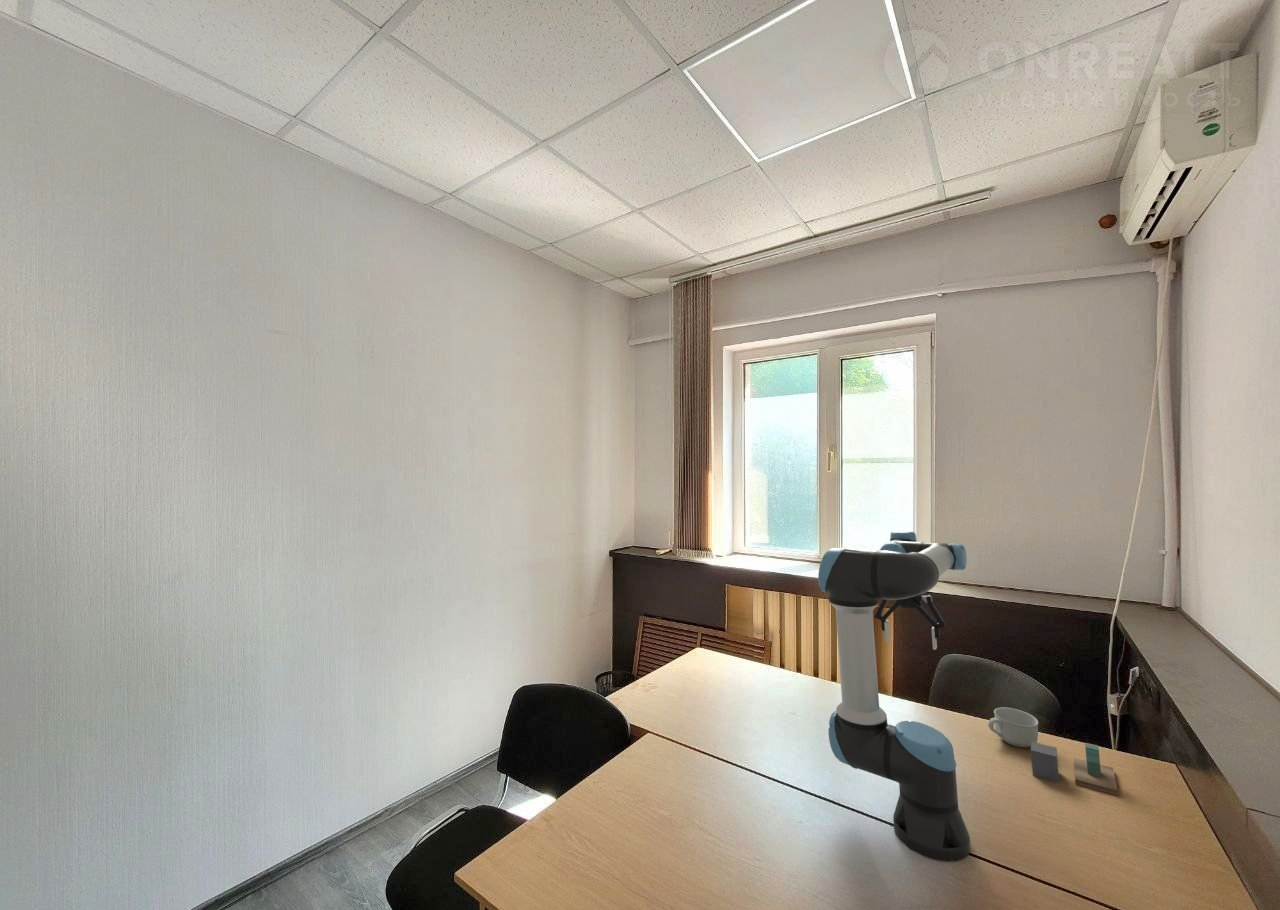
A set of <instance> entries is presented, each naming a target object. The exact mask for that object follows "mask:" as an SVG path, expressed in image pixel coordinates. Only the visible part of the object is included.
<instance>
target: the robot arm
mask: <svg viewBox="0 0 1280 910" xmlns="http://www.w3.org/2000/svg"><path fill="white" fill-rule="evenodd" d="M917 540H918V539H917V534H916V532H914V531H911V530H893V531H891V532H890V539H889V541H887V542H886V543H884V544H883V545H882V546H881V547H880V549H879V550H876V549H865V548H864V549H863V548H851V547H838V548H837V547H834V548H830V549H828V550H827V551H826V552H825V553H824V554H823V556H822V558H821V560H820V563H819V567H818V568H819V569H818V574H817V575H818V576H817V577H818V578H817V579H818V586H819V589H820V590H821V592H823V593H824V594H828V602H829V604H830V605H831V606H832V607H833V608H834V609H835V617H836V618H835V619H836V629H837V630H836V633H837V648H838V660H839V661H838V662H839V663H838V664H839V675H840V677H839V678H840V690H841V691H840V692H841V693H840V695H841V702H840V703H839V704H837V706H836V708H835V709H836V710H834V711H833V712H832V713H831V715H830V717H829V721H828V724H829V727H828V741H829V746H830V749H831V752H832V753H833V756H834V757H835V758H836V759H837V761H839V762H841V763H842V764H846V765H848V766H850V767H851V768H852V769H855V770H856V769H857V770H861V771H864V772H868V773H869V774H873V775H876V776H877V777H882V778H884V779H887V780H890V781H893V782H896V783H898V786H899V796H898V798H897V799H898V800H897V802H896V805H895V809H894V812H893V816H892V819H893V820H892V822H893V830H894V832H895V834H896V835H895V836H897V838H898V839H899V840H900V841H901V842H902V843H903V844H904V845H905V846H906V847H907V848H909V849H910V850H912V851H913V852H915V853H918V854H919V855H922V856H924V857H926V858H929V859H932V860H935V861H942V862H958V861H962V860H963V859H965V858H967V857H968V856H969V854H970V853H971V839H970V838H971V837H970V833H969V830H968V829H967V826H966V824H965V821H964V819H963V816H962V813H961V811H960V809H959V799H958V788H957V787H958V786H957V785H958V784H957V783H958V782H957V771H956V769H957V768H956V767H957V762H956V759H955V752H954V751H955V750H954V747H953V745H952V742H951V741H950V740H949V738H947V736H946V735H944V734H943V733H942V732H941V731H939V730H938V729H936V728H935V727H932V726H930V725H928V724H925V723H922V722H919V721H914V720H912V721H908V720H901V721H898V722H897V723H896V725H892V724H889V723H888V717H887V715H888V714H887V713H886V712H885V710H884V709H882V708H881V707H880V700H879V699H880V698H879V686H878V685H879V684H878V683H879V682H878V673H877V672H878V671H877V668H878V667H877V657H876V656H877V655H876V653H877V652H876V642H875V641H876V640H875V627H874V618H875V619H877V620H880V624H881V625H880V626H881V631H882V632H883V631H884V634H885V635H884V636H885V643H889V642H890V641H891V632H890V621H889V619H888V618H889V616H891V614H892V613H893V612H895V611H896V609H897V608H898V607H899V606H900V607H902V608H904V609H905V608H906V609H907V608H909V609H912V610H913V609H916V610H917V611H918V612H919V613H920V614H921V615H922V616H923V617H924V618H925V619H926V620H927V621H928V623H930V625H931V626H932V627H931V640H932V650H935V651H936V650H937V648H938V644H937V643H938V641H937V639H938V640H939V639H940V638H941V637H940V636H941V631H940V629H941V628H945V627H946V625H947V623H946V621H945V619H944V618H943V616H942V615H941V612H940V611H939V610H938V608H937V606H936V605H935V603H934V601H933V595H931V594H928V595H923V594H925V593H928V592H929V591H931V590H932V589H933V588H934V587H936V585H937V584H938V582H939V579H940V577H941V576H942V575H943V574H945V573H947V571H948V570H952V571H963V570H965V569H966V567H967V551H966V547H965V546H964V544H961V543H953V542H925V541H917ZM879 600H881V603H880V604H879ZM888 601H896V602H895V603H893V605H892V606H891V607H890V608H889V609H888V610H887V611H886V612H885V613H884V614H883V615H882V613H883V611H884V609H885V607H886V606H887V603H888ZM921 601H924V602H925V603H926V604H927V606H928V607H929V609H930V611H931V612H932V615H931V614H930V613H929V612H928V610H927V609H926V608H925V607H924V606H923V604H922V603H921ZM878 606H879V607H878ZM877 607H878V609H877V610H876V612H875V614H874V613H873V612H874V610H875V609H876V608H877Z"/></svg>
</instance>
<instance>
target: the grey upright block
mask: <svg viewBox="0 0 1280 910" xmlns="http://www.w3.org/2000/svg"><path fill="white" fill-rule="evenodd" d="M1030 757H1031V768H1032V769H1031V771H1032V776H1034V777H1038V778H1041V779H1046V780H1048V781H1053V782H1055V783H1060V774H1059V773H1060V772H1059V760H1058V759H1059V758H1058V747H1055V746H1051V745H1047V744H1043V743H1039V742H1031V746H1030Z"/></svg>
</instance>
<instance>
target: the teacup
mask: <svg viewBox="0 0 1280 910" xmlns="http://www.w3.org/2000/svg"><path fill="white" fill-rule="evenodd" d="M993 714H994V717H991V718H990V719H989V720H988V722H987V723H988V724H987V726H988V728H989V729H990V731H992V733H994V734H996V735H997V736H998V737H999V738H1001V739H1002V740H1003V741H1004V742H1005V743H1007V744H1009V745H1011V746H1015V747H1017V748H1029V747H1030V748H1031V742H1036V743H1038V739H1039V720H1038V718H1036V717H1035V716H1034V715H1032V714H1031V713H1028V712H1025V711H1023V710H1020V709H1017V708H1013V707H1005V706H1003V707H997V708H995V709H994V710H993ZM994 727H995V728H994Z"/></svg>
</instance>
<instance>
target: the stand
mask: <svg viewBox="0 0 1280 910" xmlns="http://www.w3.org/2000/svg"><path fill="white" fill-rule="evenodd" d="M1084 745H1085V757H1086V760H1082V759H1080V758H1074V757H1073V758H1072V759H1073V769H1074V781H1075V782H1074V783H1075V784H1074V785H1077V786H1078V785H1079V786H1083V787H1085V788H1089V789H1093V790H1097V791H1100V792H1104V793H1107V794H1112V795H1114V796H1119V793H1118V792H1119V791H1118V787H1117V782H1116V777H1115V770H1114V767H1111V766H1107V765H1103V764H1101V761H1100V760H1101V759H1100V749H1099V745H1097V744H1092V743H1088V742H1084Z"/></svg>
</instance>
